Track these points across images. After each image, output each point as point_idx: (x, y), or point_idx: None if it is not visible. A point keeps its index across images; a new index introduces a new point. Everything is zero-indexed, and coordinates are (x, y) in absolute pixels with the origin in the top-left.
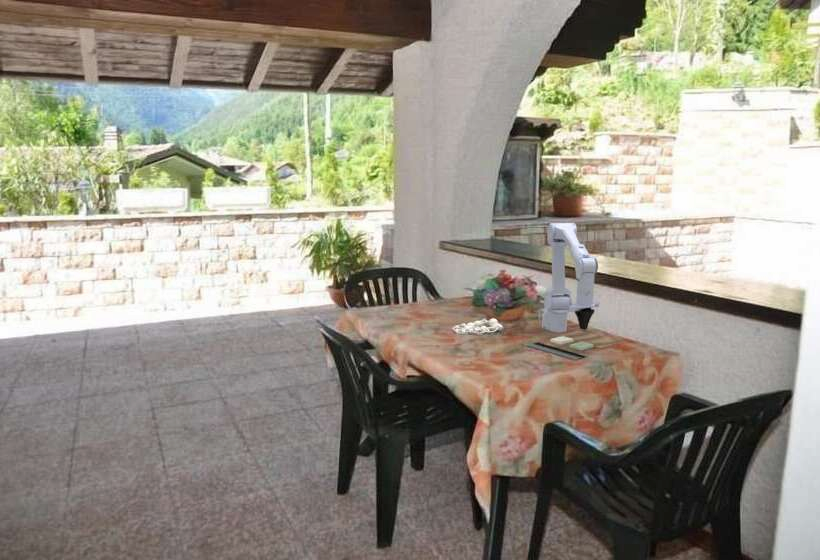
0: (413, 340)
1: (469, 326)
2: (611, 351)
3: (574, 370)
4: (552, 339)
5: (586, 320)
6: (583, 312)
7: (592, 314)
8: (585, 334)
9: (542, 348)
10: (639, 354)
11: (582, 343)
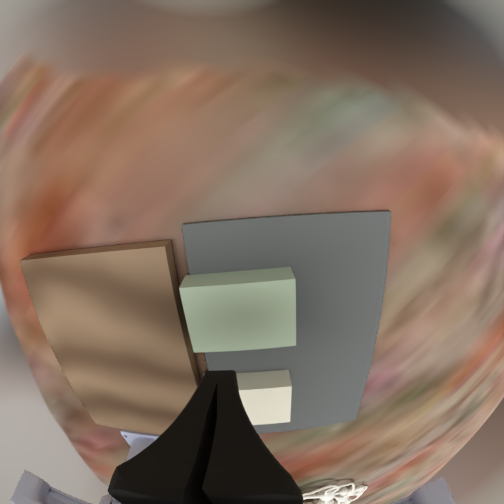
0: (441, 459)
1: (340, 500)
2: (115, 218)
3: (466, 135)
4: (287, 417)
5: (230, 422)
6: (300, 499)
7: (142, 454)
8: (98, 398)
9: (355, 382)
10: (56, 123)
11: (219, 330)
